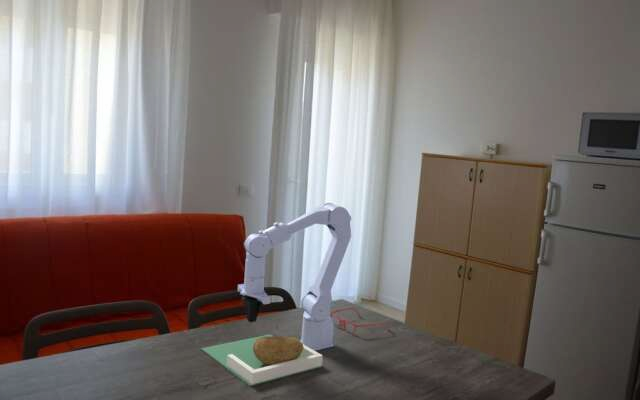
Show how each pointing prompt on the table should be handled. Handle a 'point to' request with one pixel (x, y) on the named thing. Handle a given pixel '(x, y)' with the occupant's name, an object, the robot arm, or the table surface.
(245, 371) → the white angular frame
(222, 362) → the green mat
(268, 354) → the potato
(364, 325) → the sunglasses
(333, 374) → the table surface
